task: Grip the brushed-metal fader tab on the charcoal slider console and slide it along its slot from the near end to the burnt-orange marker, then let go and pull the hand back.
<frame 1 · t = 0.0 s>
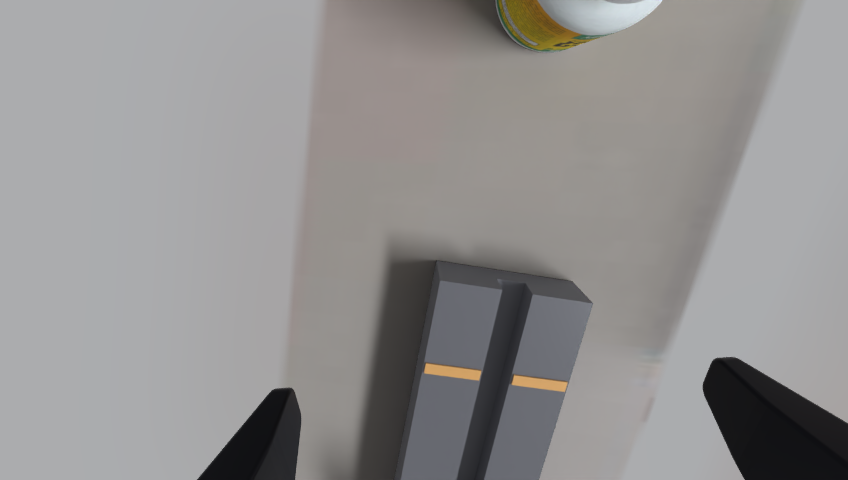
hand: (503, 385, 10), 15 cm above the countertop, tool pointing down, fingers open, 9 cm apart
fader console: (470, 417, 28), on the countertop
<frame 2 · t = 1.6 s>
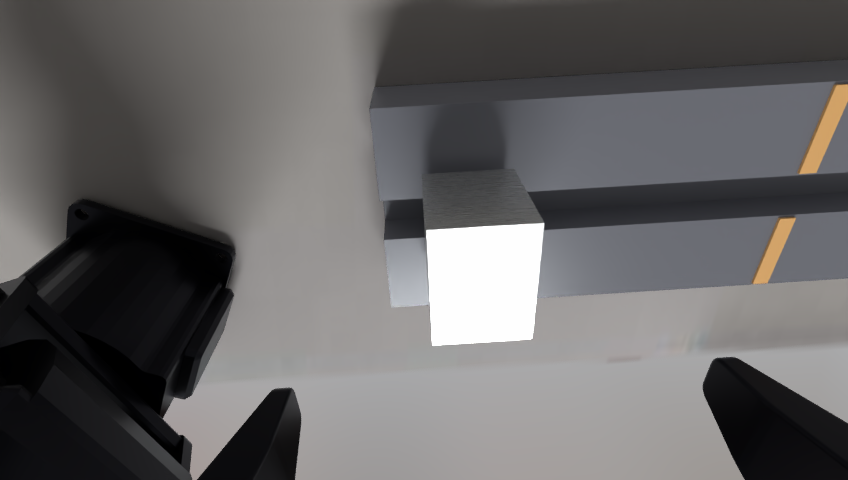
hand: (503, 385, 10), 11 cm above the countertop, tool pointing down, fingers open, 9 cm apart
fader tab: (470, 238, 15), point 5 cm above the countertop, slide at -7.0 cm
fader console: (623, 171, 19), on the countertop
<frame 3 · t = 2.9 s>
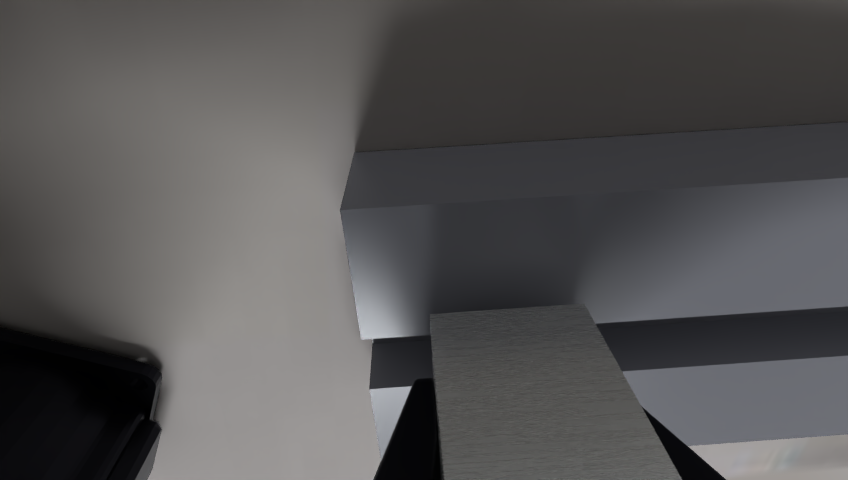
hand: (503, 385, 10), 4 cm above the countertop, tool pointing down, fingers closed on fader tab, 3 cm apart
fader tab: (511, 413, 9), point 5 cm above the countertop, slide at -7.0 cm, touching gripper
fader console: (717, 263, 13), on the countertop
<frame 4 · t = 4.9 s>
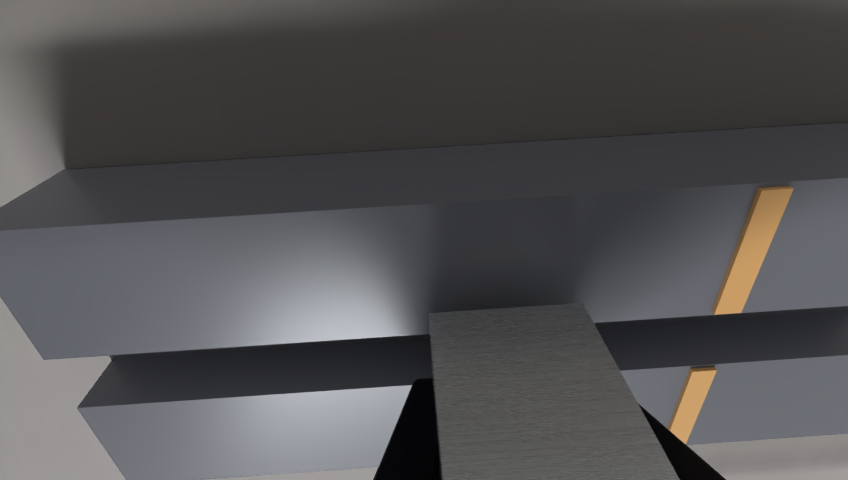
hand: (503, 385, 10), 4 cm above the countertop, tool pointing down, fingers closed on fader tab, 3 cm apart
fader tab: (509, 412, 9), point 5 cm above the countertop, slide at -0.1 cm, touching gripper
fader console: (479, 278, 13), on the countertop
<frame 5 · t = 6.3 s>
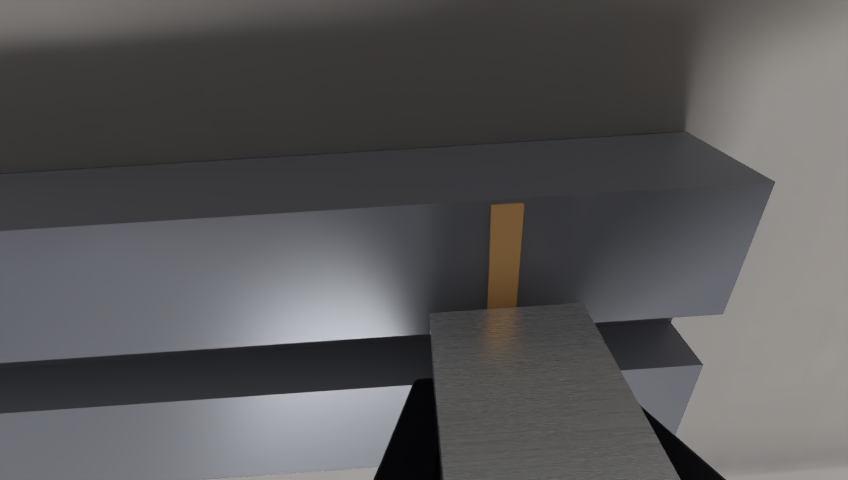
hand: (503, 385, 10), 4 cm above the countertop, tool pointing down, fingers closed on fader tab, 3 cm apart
fader tab: (510, 412, 9), point 5 cm above the countertop, slide at 4.9 cm, touching gripper
fader console: (304, 289, 13), on the countertop
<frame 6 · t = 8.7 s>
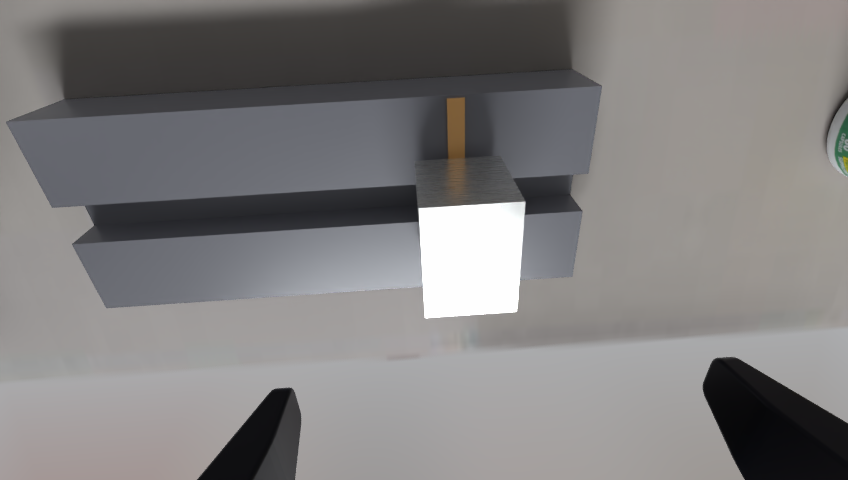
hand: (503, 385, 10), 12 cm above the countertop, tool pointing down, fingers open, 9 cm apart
fader tab: (460, 220, 16), point 5 cm above the countertop, slide at 5.0 cm
fader console: (335, 178, 20), on the countertop
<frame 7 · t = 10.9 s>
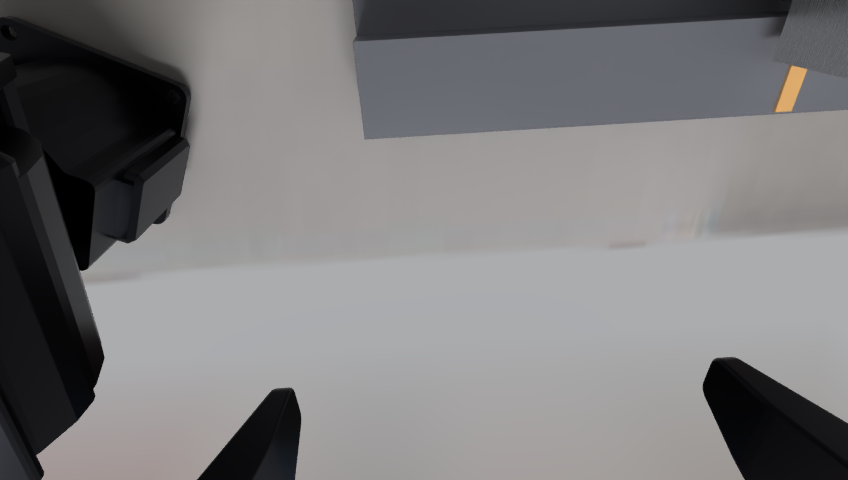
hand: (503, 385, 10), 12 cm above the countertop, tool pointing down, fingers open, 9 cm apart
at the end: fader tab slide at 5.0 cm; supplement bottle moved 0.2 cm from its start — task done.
